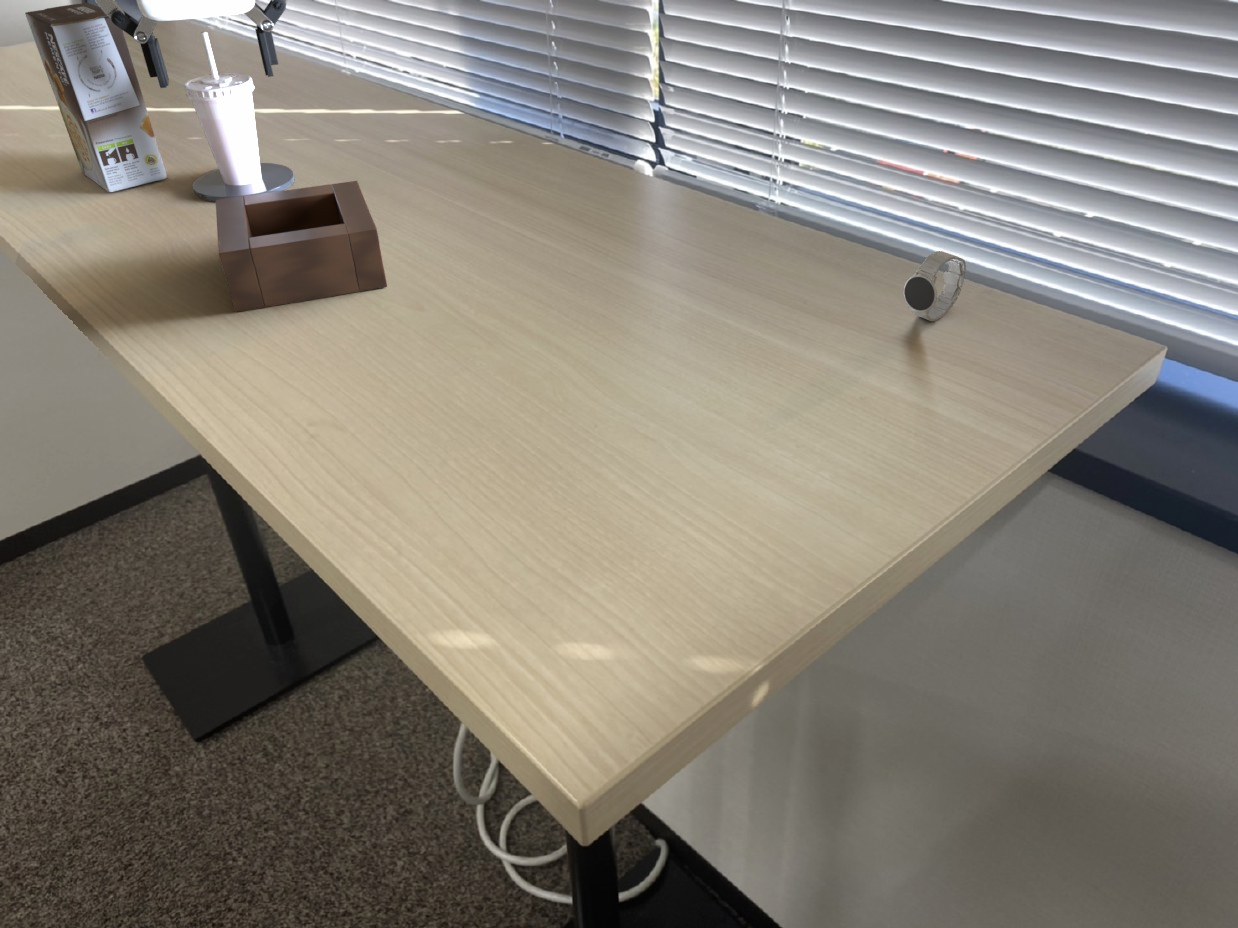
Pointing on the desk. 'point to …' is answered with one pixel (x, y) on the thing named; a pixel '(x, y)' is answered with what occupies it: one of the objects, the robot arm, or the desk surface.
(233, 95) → the smoothie
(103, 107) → the coffee box
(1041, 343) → the desk surface
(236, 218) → the stand
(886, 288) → the desk surface
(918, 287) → the wristwatch
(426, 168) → the desk surface
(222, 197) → the coaster
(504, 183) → the desk surface
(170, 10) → the robot arm
